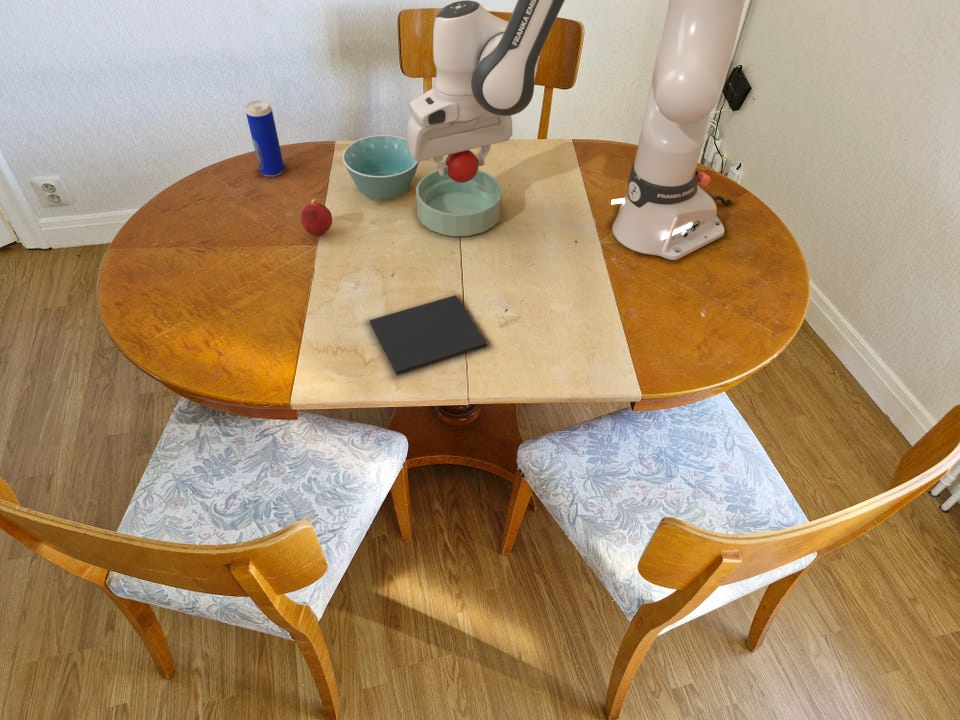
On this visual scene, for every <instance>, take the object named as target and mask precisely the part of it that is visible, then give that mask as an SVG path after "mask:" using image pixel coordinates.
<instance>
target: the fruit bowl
mask: <svg viewBox="0 0 960 720" xmlns="http://www.w3.org/2000/svg"><path fill="white" fill-rule="evenodd" d="M415 201H416V202H415V203H416V215H417V218H418V219H419V222H420V223H421V224H422V225H423V226H424V227H426V228H428V229H429V230H430V231H432V232H435V233H437V234H441V235H443V236H444V235H445V236H451V237H470V236H473V235H479V234H482V233H484V232H486V231H487V230H490V229H492V228H493V227H494V226H495V225H496V224H497V223H498V222H499V220H500V218H501V214H502V206H503V189H502V184H500V182H499V181H498V179H496V177H494V176H493V175H491V174H490V173H488V172H487V171H483V170H480V169H478V171H477V174H476V175H475V177H474V178H473V179H472V180H470V181H468V182H465V183H459V182H455V181H453V180H452V179H451V178H450V177H449V176H448V174H447V175H443V176H441V175H440V174H439V171H438V169H435V170H434V171H431V172H429V173H427V174H425V175H424V176H423V177H422V178H421V179H420V180H418V183H417V185H416V186H415Z"/></svg>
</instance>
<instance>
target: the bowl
mask: <svg viewBox="0 0 960 720" xmlns="http://www.w3.org/2000/svg"><path fill="white" fill-rule="evenodd" d="M342 162H343V164H344V166H345V168H346V170H347V172H348V174H349V176H350V178H351V180H352V181H353V183H354V185H355V186H356V189H357V190H358V192H360V193H361V195H363V196H364V197H367V198H370V199H371V200H375V201H379V202H384V201H385V202H387V201H392V200H396V199H398V198H400V197H402V196H403V195H404V194H406V193H407V192H408V191H409V190H410V188H411V186H412V184H413V181H414V178H415V176H416V172H417V169H418V166H419V163H420V162H418V161H416V160H415V159H414V158H413V157H412V156H411V155H410V153H409V151H408V145H407V138H406V137H405V138H404V137H401V136H396V135H390V134H376V135H370V136H365V137H362V138H360V139H357V140H355V141H354V142H352V143H350V144H349V145H348V146H347V147H346V148H345V149H344V151H343V153H342Z"/></svg>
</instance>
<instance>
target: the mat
mask: <svg viewBox="0 0 960 720" xmlns="http://www.w3.org/2000/svg"><path fill="white" fill-rule="evenodd" d="M369 324H370V326H371V328H372V330H373V332H374V333H375V336H376V338H377V340H378V342H379V344H380V346H381V347H382V350H383V351H384V353H385V355H386V358H387V359H388V361H389V364H390V365H391V367H392V369H393V371H394V372H395V375H396V376H398V375H401V374H404V373H408V372H411V371H414V370H417V369H420V368H422V367H426V366H429V365H432V364H435V363H439V362H442V361H446V360H449V359H451V358H454V357H457V356H461V355H464V354H468V353H470V352H473V351H475V350H479V349H483V348H486V347H487V346H488V342H487V341H486V339H485V338H484V336H483V335H482V333H481V331H480V330H479V329H478V328H477V325H476V324H475V323H474V321H473V320H472V318H471V316H470V315H469V313H468V312H467V311H466V308H464V306H463V304H462V302H461V301H460V300H459V298H458V297H457V295H451V296H448V297H445V298H441V299H438V300H435V301H431V302H428V303H424V304H421V305H420V304H419V305H417V306H414V307H410V308H406V309H404V310H400V311H397V312H393V313H389V314H386V315H383V316H378V317H375V318H373V319H370V320H369Z"/></svg>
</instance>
